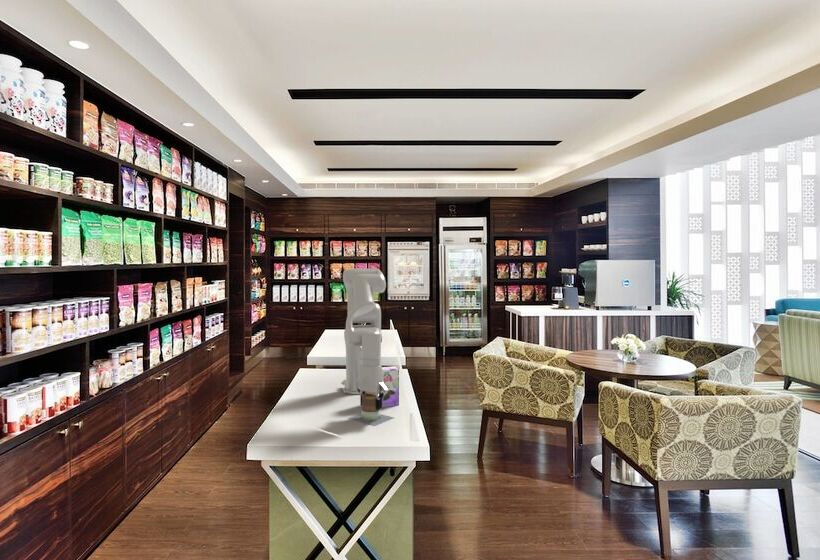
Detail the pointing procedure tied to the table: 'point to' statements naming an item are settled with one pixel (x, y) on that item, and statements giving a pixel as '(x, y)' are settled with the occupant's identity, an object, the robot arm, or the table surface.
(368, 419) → the jar
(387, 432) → the table surface
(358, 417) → the mat
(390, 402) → the candy box
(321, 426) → the table surface
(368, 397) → the brown short round piece
